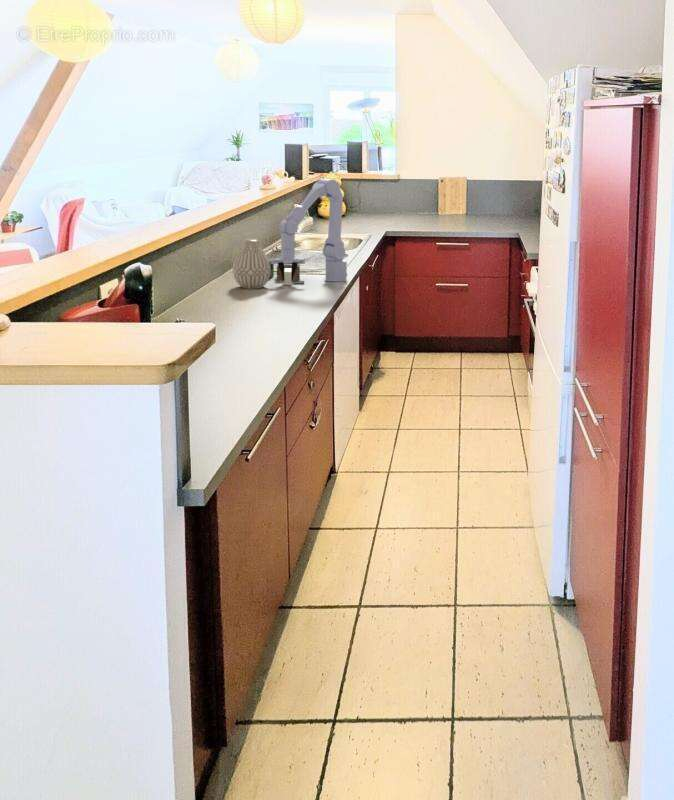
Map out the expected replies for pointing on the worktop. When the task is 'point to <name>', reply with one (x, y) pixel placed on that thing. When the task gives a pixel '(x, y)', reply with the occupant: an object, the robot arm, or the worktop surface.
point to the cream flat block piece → (287, 276)
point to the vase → (251, 266)
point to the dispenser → (296, 274)
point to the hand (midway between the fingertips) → (287, 280)
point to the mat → (298, 282)
